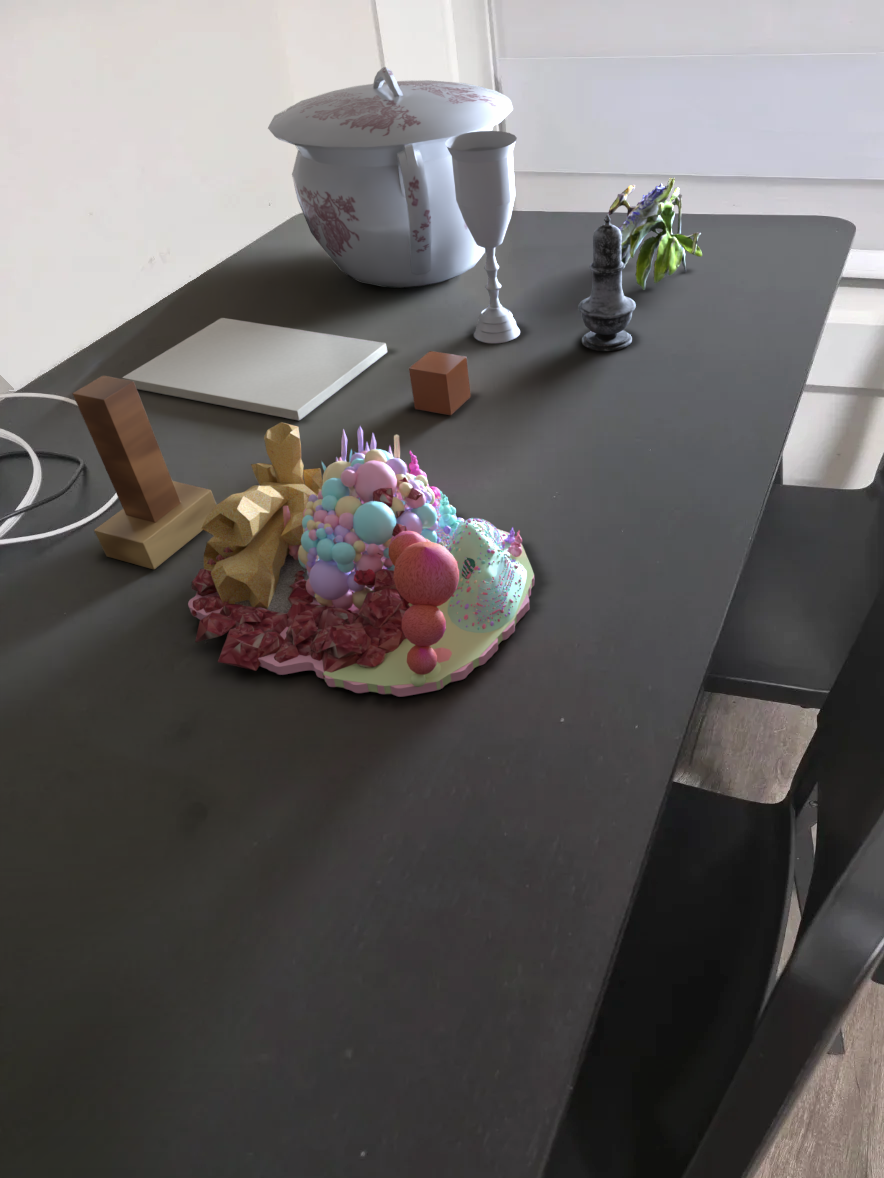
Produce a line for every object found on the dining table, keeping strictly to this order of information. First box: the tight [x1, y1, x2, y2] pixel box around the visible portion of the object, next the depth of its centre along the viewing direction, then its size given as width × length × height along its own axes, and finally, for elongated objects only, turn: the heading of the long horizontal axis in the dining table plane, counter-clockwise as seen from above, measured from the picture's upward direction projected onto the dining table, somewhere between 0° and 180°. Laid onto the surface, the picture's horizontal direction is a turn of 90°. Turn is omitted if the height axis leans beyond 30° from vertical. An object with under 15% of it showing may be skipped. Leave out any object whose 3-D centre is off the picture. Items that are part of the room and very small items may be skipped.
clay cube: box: [408, 350, 472, 416], centre depth 85 cm, size 4×4×4 cm
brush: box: [72, 375, 217, 570], centre depth 68 cm, size 5×8×12 cm, turn 155°
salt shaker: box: [577, 214, 637, 352], centre depth 90 cm, size 6×6×12 cm
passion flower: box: [607, 177, 703, 291], centre depth 105 cm, size 11×11×12 cm
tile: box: [121, 317, 388, 421], centre depth 93 cm, size 22×16×1 cm
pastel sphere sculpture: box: [187, 421, 535, 698], centre depth 63 cm, size 25×24×9 cm
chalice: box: [445, 130, 521, 344], centre depth 91 cm, size 7×7×18 cm
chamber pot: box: [267, 66, 514, 289], centre depth 105 cm, size 28×28×21 cm
